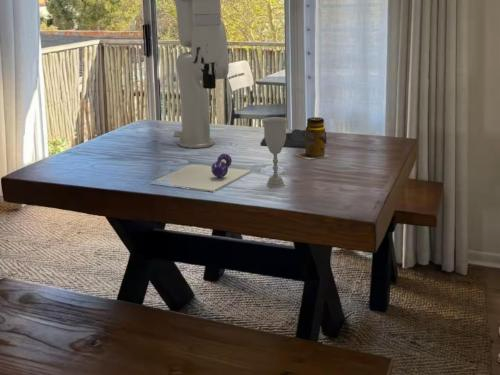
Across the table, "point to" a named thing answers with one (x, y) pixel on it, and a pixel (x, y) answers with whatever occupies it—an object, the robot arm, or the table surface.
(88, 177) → the table surface
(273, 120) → the chalice
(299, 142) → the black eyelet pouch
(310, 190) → the table surface
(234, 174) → the mat
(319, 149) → the condiment
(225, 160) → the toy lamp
